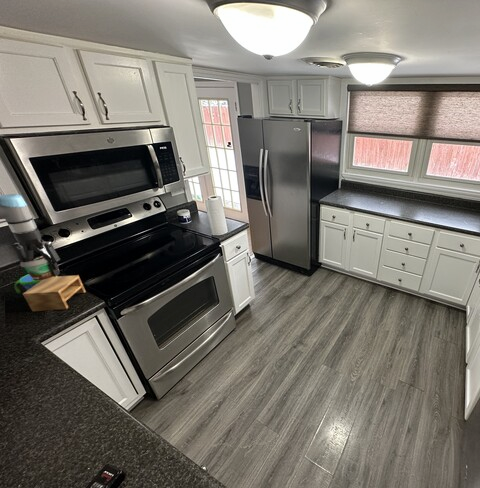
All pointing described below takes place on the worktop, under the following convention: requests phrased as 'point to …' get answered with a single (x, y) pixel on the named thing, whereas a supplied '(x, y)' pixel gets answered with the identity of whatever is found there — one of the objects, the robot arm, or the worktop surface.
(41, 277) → the food container
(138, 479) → the worktop surface
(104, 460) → the worktop surface
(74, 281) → the shelf
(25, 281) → the snack cup
